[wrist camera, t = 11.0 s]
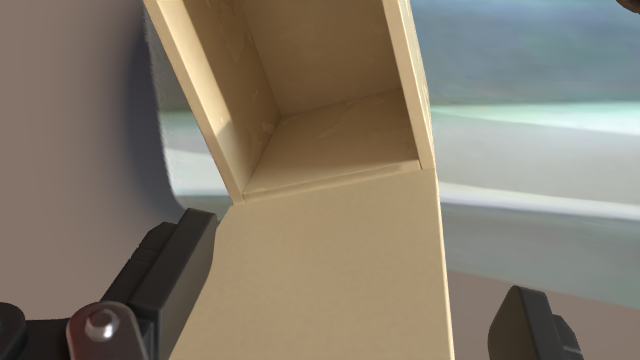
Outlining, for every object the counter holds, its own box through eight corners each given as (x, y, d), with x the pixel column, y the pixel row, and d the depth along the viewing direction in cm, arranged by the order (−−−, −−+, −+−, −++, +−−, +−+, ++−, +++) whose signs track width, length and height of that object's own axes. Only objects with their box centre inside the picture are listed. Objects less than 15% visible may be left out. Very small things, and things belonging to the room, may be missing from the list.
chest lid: (98, 424, 18) (158, 511, 21) (455, 399, 15) (483, 506, 17) (230, 205, 32) (258, 272, 34) (435, 166, 29) (451, 243, 31)
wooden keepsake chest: (210, -61, 37) (127, -32, 26) (383, -121, 33) (372, -117, 22) (277, 122, 43) (234, 207, 32) (427, 88, 40) (436, 168, 29)
